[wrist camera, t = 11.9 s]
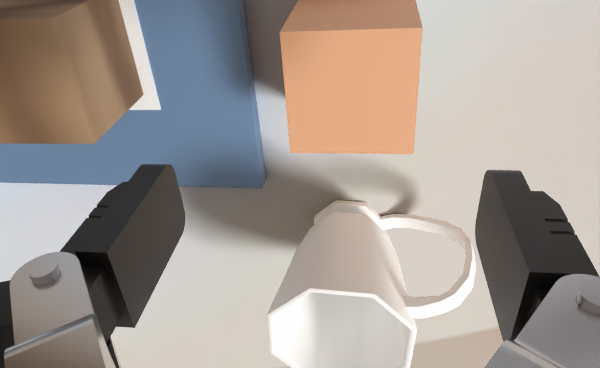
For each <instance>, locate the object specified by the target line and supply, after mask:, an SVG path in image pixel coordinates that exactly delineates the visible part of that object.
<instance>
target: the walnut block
mask: <svg viewBox="0 0 600 368" xmlns="http://www.w3.org/2000/svg"><path fill="white" fill-rule="evenodd" d="M143 95H144V94H143V90H142V86H141V83H140V79H139V75H138V72H137V68H136V64H135V60H134V57H133V53H132V49H131V45H130V42H129V38H128V34H127V31H126V27H125V23H124V19H123V16H122V12H121V8H120V4H119V1H118V0H0V143H6V144H95V143H96V142H97V141H98V140H99V139H100V138H101V137H102V136H103V135H104V134H105V133H106V132H107V131H108V130H109V129H110V128H111V127H112V126H113V125H114V124H115V123H116V122H117V121H118V120H119V119H120V118H121V117H122V116H123V115H124V114H125V113H126V112H127V111H128V110H129V109H130V108H131V107H132V106H133V105H134V104H135V103H136V102H137V101H138V100H139V99H140V98H141V97H142V96H143Z"/></svg>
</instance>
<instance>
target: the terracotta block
mask: <svg viewBox="0 0 600 368" xmlns="http://www.w3.org/2000/svg"><path fill="white" fill-rule="evenodd" d="M421 41H422V24H421V20H420V16H419V12H418V8H417V4H416V0H298V1H297V3H296V5H295V6H294V8H293V10H292V11H291V13H290V15H289V17H288V18H287V20H286V22H285V23H284V25H283V27H282V29H281V30H280V43H281V54H282V65H283V76H284V87H285V98H286V108H287V119H288V130H289V141H290V152H291V153H373V154H413V153H414V139H415V125H416V111H417V97H418V83H419V69H420V55H421Z"/></svg>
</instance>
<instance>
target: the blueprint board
mask: <svg viewBox="0 0 600 368" xmlns="http://www.w3.org/2000/svg"><path fill="white" fill-rule="evenodd" d="M118 1H119V4H120V8H121V12H122V16H123V19H124V23H125V27H126V31H127V34H128V38H129V42H130V45H131V49H132V53H133V57H134V60H135V64H136V68H137V72H138V75H139V79H140V83H141V86H142V90H143V94H144V95H143V96H142V97H141V98H140V99H139V100H138V101H137V102H136V103H135V104H134V105H133V106H132V107H131V108H130V109H129V110H128V111H127V112H126V113H125V114H124V115H123V116H122V117H121V118H120V119H119V120H118V121H117V122H116V123H115V124H114V125H113V126H112V127H111V128H110V129H109V130H108V131H107V132H106V133H105V134H104V135H103V136H102V137H101V138H100V139H99V140H98V141H97V142H96V143H95V144H6V143H0V182H7V183H52V184H96V185H119V184H121V183H122V182H128V181H129V180H130V178H131V177H132V176H133V174H134V173H135V172H136V170H137V169H138V168H139V167H140V166H141V165H142V164H170V165H172V166H173V168H174V170H175V173H176V177H177V182H178V186H186V187H230V188H263V185H264V183H265V180H266V173H265V165H264V158H263V150H262V142H261V134H260V126H259V118H258V110H257V102H256V95H255V87H254V79H253V71H252V63H251V55H250V47H249V40H248V32H247V24H246V16H245V8H244V0H118Z"/></svg>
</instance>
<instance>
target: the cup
mask: <svg viewBox="0 0 600 368" xmlns="http://www.w3.org/2000/svg"><path fill="white" fill-rule="evenodd" d="M396 227H398V228H413V229H418V230H423V231H427V232H431V233H435V234H439V235H443V236H446V237H448V238H450V239H453V240H455V241H457V242H460V244H461V245H462V246H463V248H464V249H465V250H466V260H465V265H464V271H463V274H462V276H461V277H460V278H459V279H458V280H457V282H456V283H455V284H454V285H453V287H452V288H451V289H450V290H449V291H448V292H446V293H444V294H442V295H440V296H428V297H408V295H407V291H406V288H405V284H404V280H403V276H402V272H401V268H400V264H399V260H398V257H397V254H396V252H395V250H394V248H393V245H392V243H391V241H390V239H389V236H388V234H387V233H386V232H385V230H387V229H391V228H396ZM475 272H476V263H475V254H474V250H473V246H472V243H471V241H470V239H469V238H468V237H467V235H466V234H465V233H464V232H463V230H462V229H461V228H458V227H456V226H454V225H452V224H450V223H448V222H445V221H441V220H436V219H432V218H427V217H422V216H416V215H408V214H390V215H385V216H380V215H379V214H378V213H377V212H376V211H375V210H373V209H372V208H371V207H370V206H369V205H368V204H367V203H366V202H354V201H339V200H335V201H334V202H333V203H331V204H330V205H328V206H327V207H326V208H324V209H323V210H322V211H320V212H319V213H317V214H316V215H315V217H314V226H313V227H311V228H310V230H309V231H308V233H307V234H306V236H305V237H304V239H303V240H302V242H301V243H300V245H299V246H298V248H297V250H296V252H295V254H294V257H293V259H292V261H291V263H290V266H289V268H288V270H287V273H286V275H285V277H284V279H283V281H282V283H281V286H280V288H279V290H278V292H277V294H276V296H275V298H274V300H273V303H272V305H271V307H270V309H269V312H268V314H267V318H268V331H269V344H270V353H271V354H272V355H274V356H275V357H277V358H278V359H279V360H281V361H282V362H284V363H285V364H286V365H288V366H289V367H291V368H410V363H411V358H412V353H413V348H414V343H415V338H416V332H417V328H416V324H415V320H414V318H427V317H431V316H435V315H439V314H443V313H446V312H448V311H450V310H452V309H454V308H456V307H458V306H459V305H460V304H461V303H462V301H463V300H464V299H465V298H466V296H467V295H468V294H469V293H470V291H471V290H472V289H473V284H474V278H475Z"/></svg>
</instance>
